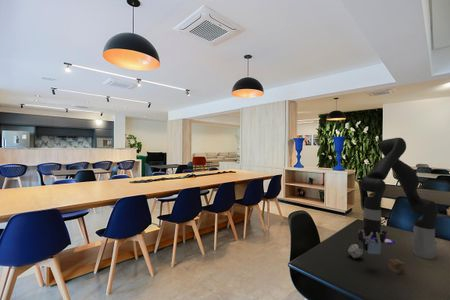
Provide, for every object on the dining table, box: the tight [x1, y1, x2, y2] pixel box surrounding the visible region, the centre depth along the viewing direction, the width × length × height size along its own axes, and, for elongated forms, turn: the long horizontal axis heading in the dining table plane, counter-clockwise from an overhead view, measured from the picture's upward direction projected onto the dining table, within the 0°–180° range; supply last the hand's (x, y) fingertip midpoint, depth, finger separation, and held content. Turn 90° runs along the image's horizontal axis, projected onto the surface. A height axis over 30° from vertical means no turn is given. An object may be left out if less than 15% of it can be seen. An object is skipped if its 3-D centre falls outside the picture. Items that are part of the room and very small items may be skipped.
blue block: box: [361, 239, 382, 255], centre depth 111 cm, size 6×6×5 cm
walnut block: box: [387, 258, 405, 274], centre depth 111 cm, size 4×4×5 cm
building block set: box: [363, 234, 396, 245], centre depth 154 cm, size 25×20×4 cm
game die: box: [345, 242, 366, 260], centre depth 124 cm, size 9×8×10 cm
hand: (371, 250), depth 111 cm, fingers closed on blue block, 5 cm apart
